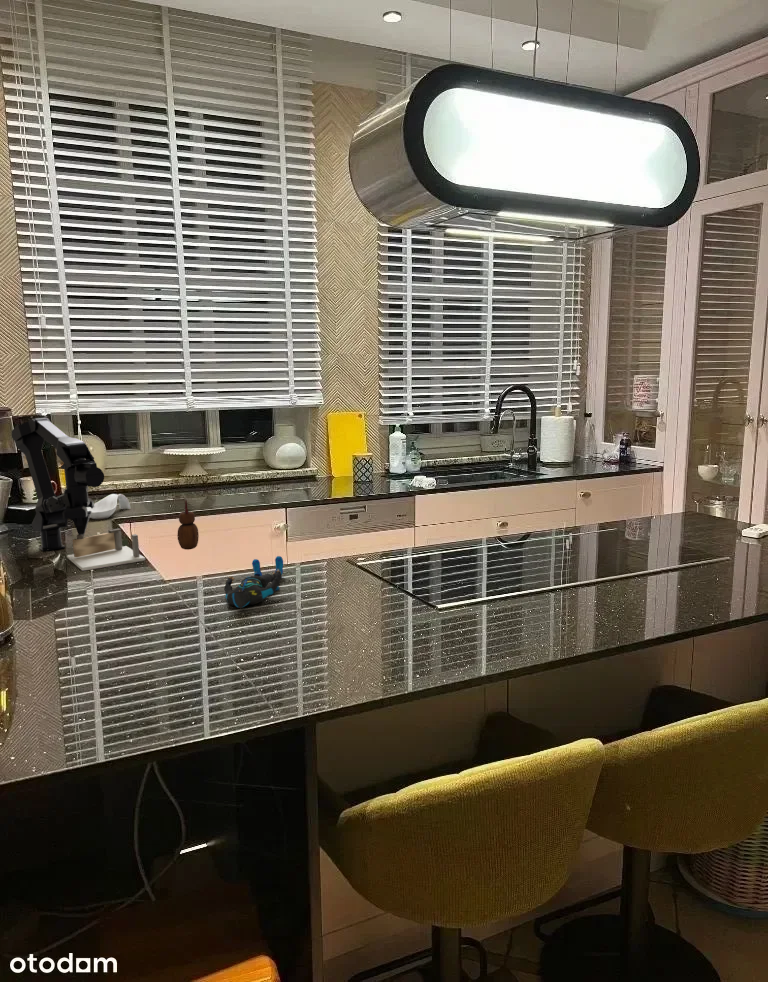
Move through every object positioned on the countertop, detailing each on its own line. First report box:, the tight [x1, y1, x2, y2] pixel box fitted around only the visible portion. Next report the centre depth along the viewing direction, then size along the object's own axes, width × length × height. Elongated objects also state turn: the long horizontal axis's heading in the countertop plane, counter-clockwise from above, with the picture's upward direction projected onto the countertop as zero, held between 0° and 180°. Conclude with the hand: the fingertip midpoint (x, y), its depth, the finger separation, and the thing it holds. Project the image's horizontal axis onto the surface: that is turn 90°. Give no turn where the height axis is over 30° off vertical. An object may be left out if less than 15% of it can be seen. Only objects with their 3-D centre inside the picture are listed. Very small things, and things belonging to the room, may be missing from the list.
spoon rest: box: [86, 493, 131, 520], centre depth 287 cm, size 24×12×7 cm, turn 170°
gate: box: [72, 528, 122, 557], centre depth 219 cm, size 14×2×6 cm, turn 139°
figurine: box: [223, 555, 284, 609], centre depth 176 cm, size 13×6×30 cm
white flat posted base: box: [66, 531, 146, 572], centre depth 216 cm, size 19×17×7 cm
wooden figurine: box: [177, 500, 200, 551], centre depth 225 cm, size 7×6×15 cm
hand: (81, 537), depth 221 cm, fingers closed
